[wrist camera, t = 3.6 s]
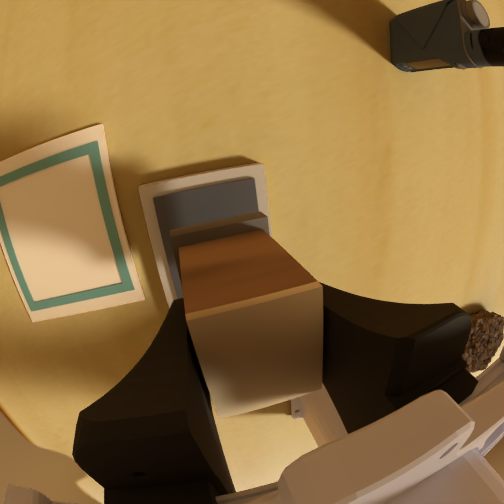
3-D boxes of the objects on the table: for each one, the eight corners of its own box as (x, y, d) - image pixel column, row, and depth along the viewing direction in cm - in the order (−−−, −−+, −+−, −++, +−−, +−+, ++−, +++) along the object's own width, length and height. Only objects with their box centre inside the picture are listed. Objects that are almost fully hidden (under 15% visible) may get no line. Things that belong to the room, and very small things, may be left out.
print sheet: (144, 297, 18) (144, 300, 18) (34, 320, 17) (32, 323, 16) (103, 123, 14) (101, 123, 14) (-16, 170, 12) (-19, 170, 12)
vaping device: (389, 69, 17) (533, 56, 6) (387, 12, 15) (513, -23, 4) (413, 79, 17) (549, 77, 7) (411, 24, 16) (533, 2, 5)
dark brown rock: (492, 310, 33) (514, 326, 28) (457, 366, 35) (477, 384, 31) (470, 291, 29) (499, 310, 24) (427, 360, 31) (451, 383, 26)
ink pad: (274, 294, 21) (280, 303, 19) (174, 318, 19) (175, 329, 18) (258, 162, 17) (265, 164, 16) (140, 185, 16) (137, 188, 15)
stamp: (272, 307, 15) (328, 395, 9) (194, 326, 14) (215, 429, 8) (260, 211, 13) (331, 265, 7) (169, 230, 12) (170, 305, 7)
